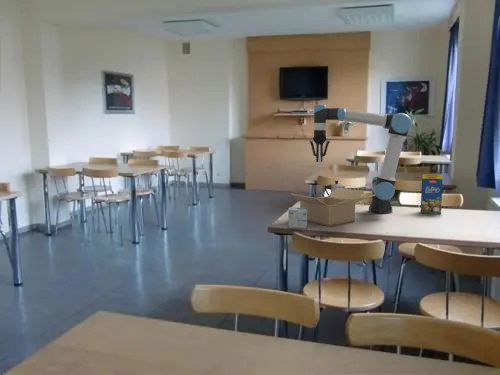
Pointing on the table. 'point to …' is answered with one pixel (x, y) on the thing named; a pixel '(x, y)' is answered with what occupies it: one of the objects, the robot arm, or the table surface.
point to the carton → (328, 215)
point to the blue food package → (431, 194)
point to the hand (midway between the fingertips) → (319, 167)
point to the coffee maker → (333, 187)
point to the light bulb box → (297, 218)
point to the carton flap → (352, 200)
